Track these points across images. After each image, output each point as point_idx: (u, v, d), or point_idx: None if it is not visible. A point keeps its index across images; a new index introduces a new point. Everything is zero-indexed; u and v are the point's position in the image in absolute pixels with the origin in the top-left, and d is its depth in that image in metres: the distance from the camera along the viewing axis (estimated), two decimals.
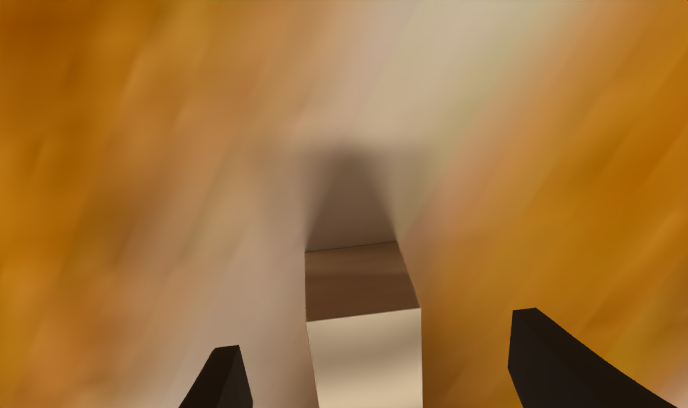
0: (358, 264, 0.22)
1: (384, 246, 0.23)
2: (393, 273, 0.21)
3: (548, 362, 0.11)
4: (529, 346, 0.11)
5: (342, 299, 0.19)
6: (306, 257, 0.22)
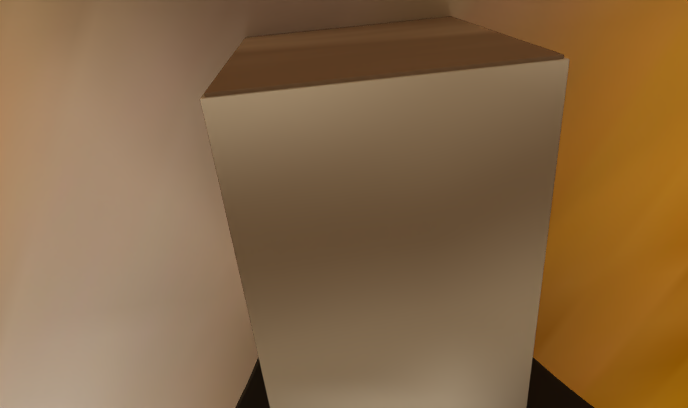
0: (365, 38, 0.09)
1: (425, 21, 0.10)
2: (458, 37, 0.08)
3: None
4: None
5: (323, 66, 0.07)
6: None
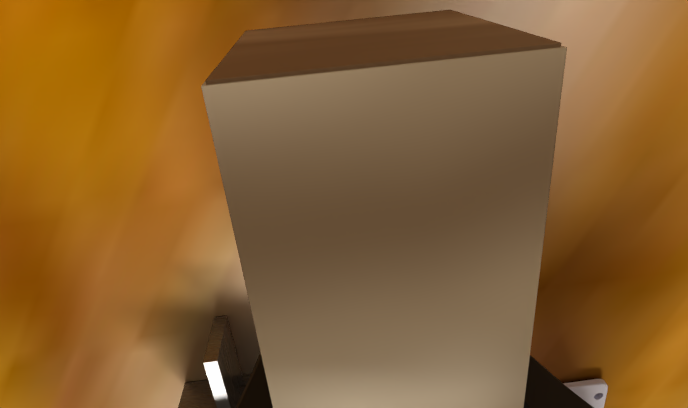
0: (365, 29, 0.09)
1: (424, 14, 0.10)
2: (457, 28, 0.08)
3: None
4: None
5: (322, 56, 0.07)
6: (245, 34, 0.10)
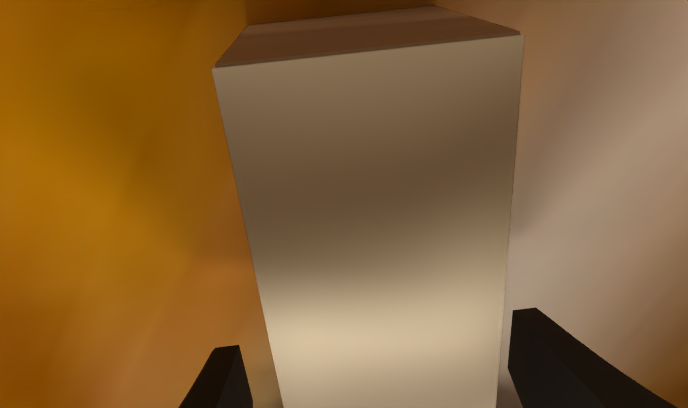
0: (356, 23, 0.10)
1: (410, 9, 0.11)
2: (437, 21, 0.09)
3: (548, 362, 0.11)
4: (529, 346, 0.11)
5: (316, 44, 0.08)
6: (248, 28, 0.11)
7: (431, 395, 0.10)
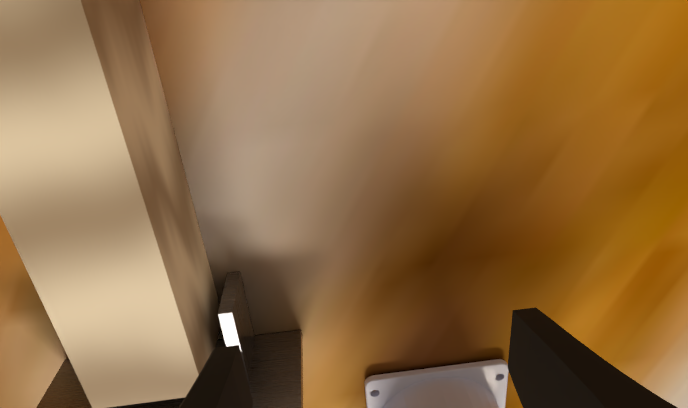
0: None
1: None
2: None
3: (548, 362, 0.11)
4: (529, 346, 0.11)
5: None
6: None
7: (99, 204, 0.15)
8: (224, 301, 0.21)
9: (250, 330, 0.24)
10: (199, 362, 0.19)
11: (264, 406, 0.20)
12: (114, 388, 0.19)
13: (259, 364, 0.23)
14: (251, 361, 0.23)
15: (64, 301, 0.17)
